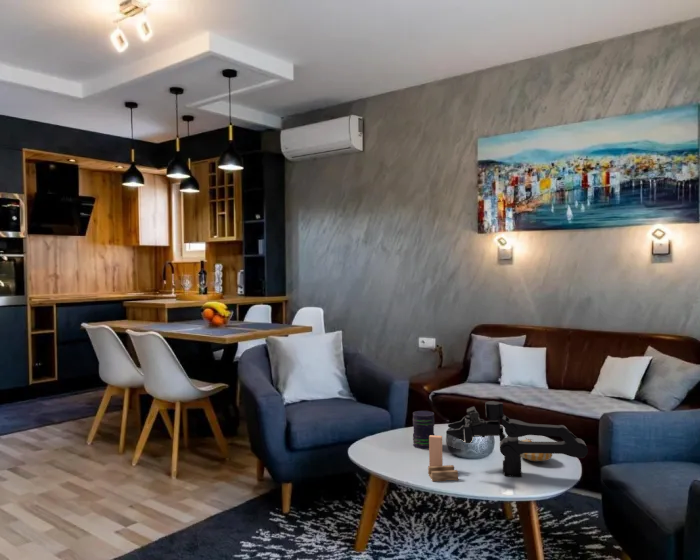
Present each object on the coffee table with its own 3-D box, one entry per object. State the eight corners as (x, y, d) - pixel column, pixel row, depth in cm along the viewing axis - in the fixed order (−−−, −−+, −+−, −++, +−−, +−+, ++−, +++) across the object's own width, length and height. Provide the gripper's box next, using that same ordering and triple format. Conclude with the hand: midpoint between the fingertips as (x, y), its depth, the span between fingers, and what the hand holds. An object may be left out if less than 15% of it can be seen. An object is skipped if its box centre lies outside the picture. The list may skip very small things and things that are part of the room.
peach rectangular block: (442, 467, 232) (442, 435, 232) (441, 469, 230) (441, 437, 229) (430, 466, 233) (429, 435, 233) (429, 468, 231) (429, 436, 231)
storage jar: (432, 442, 266) (431, 410, 265) (437, 448, 256) (436, 415, 256) (411, 442, 265) (410, 411, 265) (415, 449, 255) (414, 416, 255)
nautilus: (513, 450, 254) (549, 454, 250) (514, 463, 233) (553, 468, 229) (514, 432, 254) (549, 436, 250) (515, 443, 233) (553, 448, 229)
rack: (452, 472, 226) (452, 464, 226) (458, 480, 218) (458, 472, 218) (428, 473, 225) (428, 465, 225) (432, 481, 217) (432, 473, 217)
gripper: (485, 402, 234) (447, 403, 238) (485, 414, 216) (443, 414, 220) (487, 429, 234) (449, 429, 238) (487, 443, 216) (446, 443, 220)
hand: (447, 428), depth 229 cm, fingers open, 9 cm apart
